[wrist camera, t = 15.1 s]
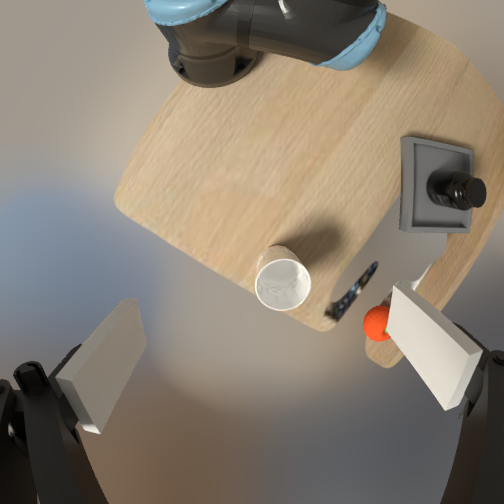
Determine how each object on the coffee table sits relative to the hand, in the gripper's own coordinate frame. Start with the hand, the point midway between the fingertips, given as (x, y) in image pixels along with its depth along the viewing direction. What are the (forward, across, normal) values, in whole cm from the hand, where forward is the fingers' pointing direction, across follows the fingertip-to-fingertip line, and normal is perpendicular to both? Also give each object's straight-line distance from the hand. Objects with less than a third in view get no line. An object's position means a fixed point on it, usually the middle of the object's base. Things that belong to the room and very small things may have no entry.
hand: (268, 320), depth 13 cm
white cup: (+35, +3, -8) cm, 36 cm away
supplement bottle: (+34, +35, +5) cm, 49 cm away
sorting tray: (+34, +35, +5) cm, 50 cm away
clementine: (+35, +23, -20) cm, 46 cm away
